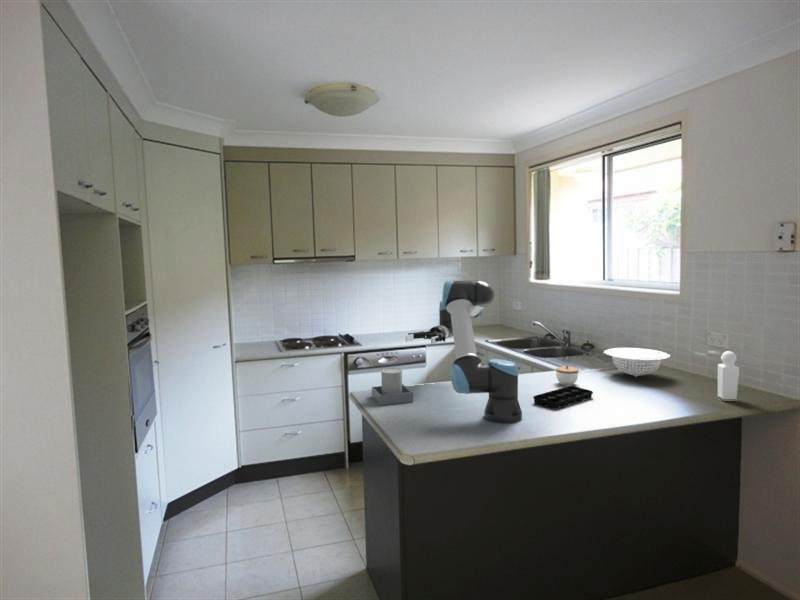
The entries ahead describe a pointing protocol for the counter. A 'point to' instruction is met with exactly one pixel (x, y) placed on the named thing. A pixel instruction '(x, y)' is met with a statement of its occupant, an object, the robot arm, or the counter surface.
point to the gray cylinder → (391, 381)
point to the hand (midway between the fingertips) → (418, 339)
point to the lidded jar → (567, 375)
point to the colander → (636, 359)
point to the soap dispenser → (728, 376)
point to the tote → (392, 396)
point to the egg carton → (562, 397)
